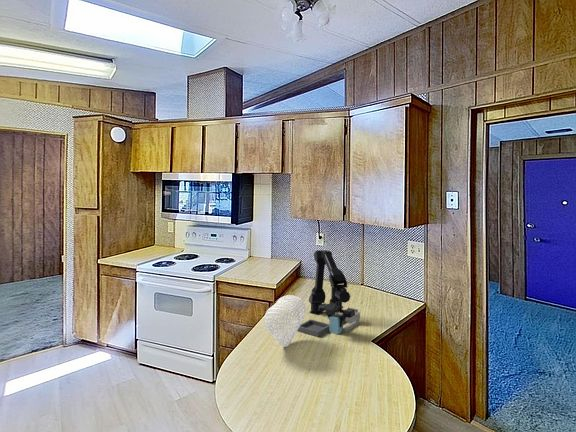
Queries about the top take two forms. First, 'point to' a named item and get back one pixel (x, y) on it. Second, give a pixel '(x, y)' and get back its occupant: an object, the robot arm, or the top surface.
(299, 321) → the heart
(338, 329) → the light blue block
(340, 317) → the robot arm
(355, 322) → the dock
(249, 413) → the top surface
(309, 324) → the tray
